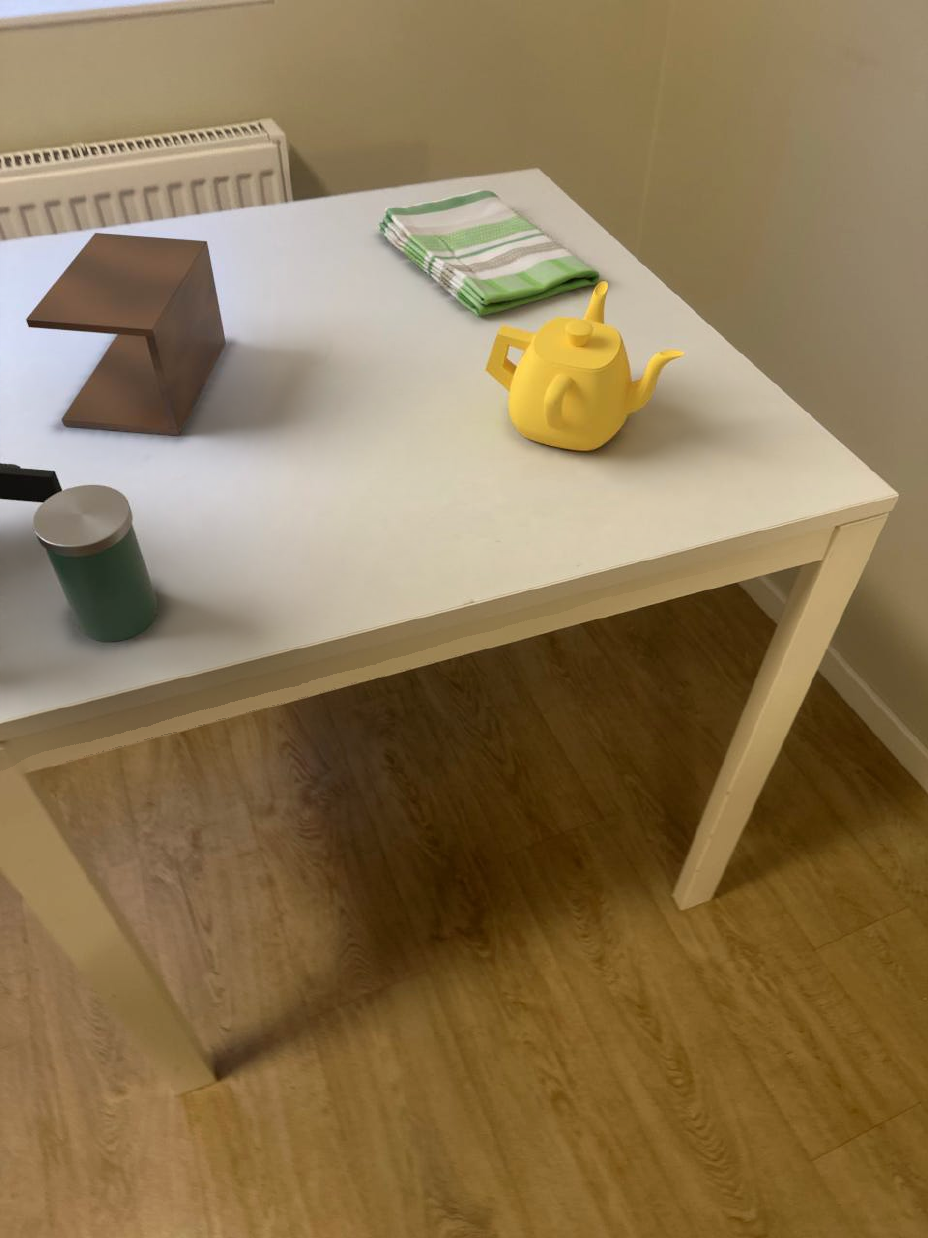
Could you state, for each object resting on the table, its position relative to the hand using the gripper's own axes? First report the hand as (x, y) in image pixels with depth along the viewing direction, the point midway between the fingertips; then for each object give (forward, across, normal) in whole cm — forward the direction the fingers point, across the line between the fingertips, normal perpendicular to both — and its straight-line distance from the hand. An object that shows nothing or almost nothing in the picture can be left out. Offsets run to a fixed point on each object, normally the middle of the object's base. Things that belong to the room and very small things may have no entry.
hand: (22, 548), depth 67 cm
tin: (+6, 0, -6) cm, 8 cm away
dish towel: (+29, -60, -6) cm, 67 cm away
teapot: (+40, -30, -6) cm, 50 cm away
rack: (-2, -30, -6) cm, 31 cm away
